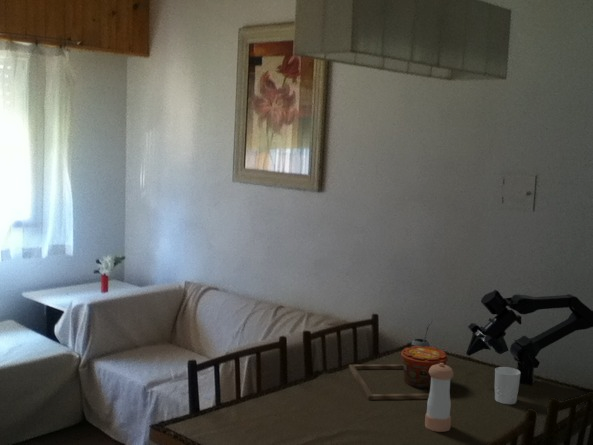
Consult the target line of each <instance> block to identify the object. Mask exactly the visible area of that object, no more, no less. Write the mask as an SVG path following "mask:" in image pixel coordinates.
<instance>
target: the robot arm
mask: <svg viewBox="0 0 593 445" xmlns="http://www.w3.org/2000/svg"><path fill="white" fill-rule="evenodd" d="M480 303H481V304H482V305H483V306H484V307H485V309H486V310H487V311H488V313H490V314H491V315H493V316H494V315H495V316H494V317H493V318H491V317H490V318H488V319H487V321H488V323H487V324H486V325H484V326H481V325H480V326H479V325H478V324H477V323H474V322H473V323H472V322H471V323H470V324H469V325H468V326H467V328H468V329H469V330H470V331H471V332H472V336H471V339H470V342H469V344H468V347H467V349H466V350H467V351H466V353H465V354H466V355H467V356H468V357H469V356H472V355H474V354H476V353H479V351H483V350H489V351H490V350H491V348H492V349H493V350H494V351H495V353H496V354H498V355H501V354H502V355H503V354H504V353H506V352H508V351H509V353H510V354H511V356H513V359H514V361H515V362H517V364H516V369H517V370H519V371H520V372H521V374H520V382H519V384H524V385H529V386H533V384H534V383H535V382H536V381H537V378H535V377H534V376H535V369H538V367H539V365H540V361H539V360H538V358H536V357H537V356H538V355H539V353H540V351H541V350H543V349H545V348H546V347H548V346H550V345H552V344H554V343H556V342H557V341H560V340H561V339H564V338H565V337H566V336H569V335H570V334H572V333H574V332H577V331H582V330H588V329H591V328H593V309H591V308H590V307H588V306H587V305H586V304H585V303H584V302H582V301H581V300H580V299H579V298H578V297H577V296H575V295H573V294H571V293H568V294H563V295H561V294H560V295H549V296H548V295H546V296H532V295H527V294H519V293H516V294H514V295H512V296H511V297H503V296H502V295H501V293H500V292H499V291H498V290H497V289H494V290H493V291H490V292H488V293H486V294H485V295H484V296H483V297H481V299H480ZM507 307H508V308H510V309H508V308H507ZM563 308H564V309H566V308H567V309H569V311H571V313H570V315H568V318H567V319H565V320H563V321H561V322H559V323H558V324H556V325H554V326H552V327H551V328H548V329H547V330H545V331H543V332H541V333H539V334H537V335H536V336H533V337H531V338H530V337H528V336H526V335H522V336H521V337H519V338H518V339H514V340H513V341H514V342H513V343H511V345H510V347H508V345H507V342H506V340H505V338H504V337H505V336H506V334H507V333H506V330H508V329H509V328H510V327H511V326H512V325H513V324H514V323H517V324H519V325H522V316H521V315H527V314H532V313H535V312H537V311H540V310H551V309H552V310H553V309H563ZM515 312H516V313H517V314H516V313H515Z"/></svg>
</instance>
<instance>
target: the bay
mask: <svg viewBox="0 0 593 445" xmlns="http://www.w3.org/2000/svg"><path fill="white" fill-rule="evenodd" d="M348 369H349V370H350V372H351V374H352V375H353V377H354V379H355V380H356V382H357V384H358V385H359V387H360V389H361V390H362V392H363V394H364V396H365V398H367V400H368V401H371V400H375V401H377V400H378V401H380V400H381V401H382V400H387V401H388V400H428V398H429V393H430V392H428V393H378V394H377V393H372V392H371V390H370V389H369V386H368V385H367V384H366V381H365V380H364V379H363V377H362V376H361V375H360V373H359V371H358V370H404V369H403V363H399V364H398V363H397V364H395V363H393V364H391V363H390V364H389V363H388V364H386V363H385V364H381V363H380V364H375V363H374V364H348Z"/></svg>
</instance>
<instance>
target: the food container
mask: <svg viewBox="0 0 593 445" xmlns="http://www.w3.org/2000/svg"><path fill="white" fill-rule="evenodd" d="M400 355H401V357H402V364H403V369H402V370H403V380H404V382H405V384H406V385H408V386H410V387H413V388H416V389H421V390H422V389H424V390H425V389H426V390H428V389H429V390H430V386H431V376H430V374H429V369H430V367H431V366H433V365H436V364H439V363H444V365H447V362H448V361H449V356H448V354H447V353H446V352H445V350H442V349H437V348H436V347H432V346H430V347H427V346H426V347H422V346H412V347H411V346H410V347H405V348H404V349H402V351H401V353H400Z"/></svg>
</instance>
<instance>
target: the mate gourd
mask: <svg viewBox="0 0 593 445" xmlns="http://www.w3.org/2000/svg"><path fill="white" fill-rule="evenodd" d="M432 322H433V320H430V321H429V323H428V324H427V325H426V327H425V329H426V330H425V333H424V337H423V338H415V339H413V340H412V341H411V345H410V348H411V347H412V346H422V347H426V346H427V347H431V346H430V343H429V341H428V340H427V339H426V338H427V335H428V331H429V328H430V325H431V323H432Z"/></svg>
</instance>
